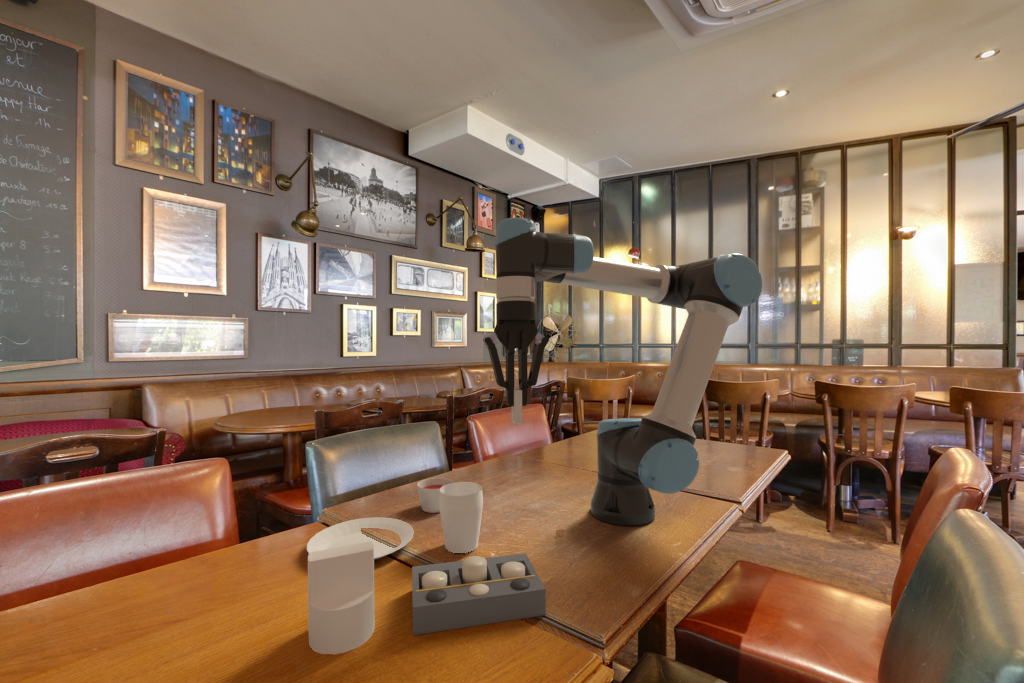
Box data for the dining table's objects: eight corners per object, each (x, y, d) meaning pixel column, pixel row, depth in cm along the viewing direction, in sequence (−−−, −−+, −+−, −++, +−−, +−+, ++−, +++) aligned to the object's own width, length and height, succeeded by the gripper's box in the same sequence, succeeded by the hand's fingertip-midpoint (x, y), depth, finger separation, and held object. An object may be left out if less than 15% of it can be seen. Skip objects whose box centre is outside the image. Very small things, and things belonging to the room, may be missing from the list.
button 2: (484, 577, 76) (484, 554, 76) (488, 590, 72) (488, 566, 72) (461, 580, 75) (460, 557, 75) (464, 593, 71) (463, 569, 71)
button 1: (521, 582, 78) (521, 560, 78) (527, 595, 74) (527, 571, 74) (499, 585, 77) (499, 563, 77) (504, 598, 73) (503, 575, 73)
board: (525, 575, 81) (525, 552, 81) (545, 614, 69) (545, 587, 69) (412, 590, 76) (412, 565, 76) (412, 635, 65) (412, 606, 65)
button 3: (446, 592, 75) (446, 569, 75) (448, 606, 71) (448, 582, 71) (421, 595, 74) (421, 572, 74) (422, 609, 70) (422, 585, 70)
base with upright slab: (308, 662, 59) (307, 572, 59) (309, 623, 68) (308, 544, 68) (378, 643, 63) (377, 558, 63) (371, 608, 71) (370, 533, 71)
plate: (345, 523, 105) (345, 514, 105) (429, 530, 101) (429, 520, 101) (282, 568, 85) (282, 556, 85) (384, 579, 80) (384, 567, 80)
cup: (476, 559, 87) (476, 497, 87) (432, 555, 89) (432, 494, 89) (488, 539, 96) (487, 482, 96) (448, 535, 98) (447, 480, 98)
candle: (440, 499, 120) (440, 475, 120) (460, 508, 114) (460, 483, 114) (410, 508, 114) (410, 483, 114) (429, 518, 107) (429, 491, 107)
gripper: (542, 302, 92) (543, 418, 92) (479, 302, 89) (480, 421, 89) (554, 299, 84) (555, 425, 84) (485, 298, 81) (486, 428, 81)
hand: (516, 423), depth 87 cm, fingers closed
